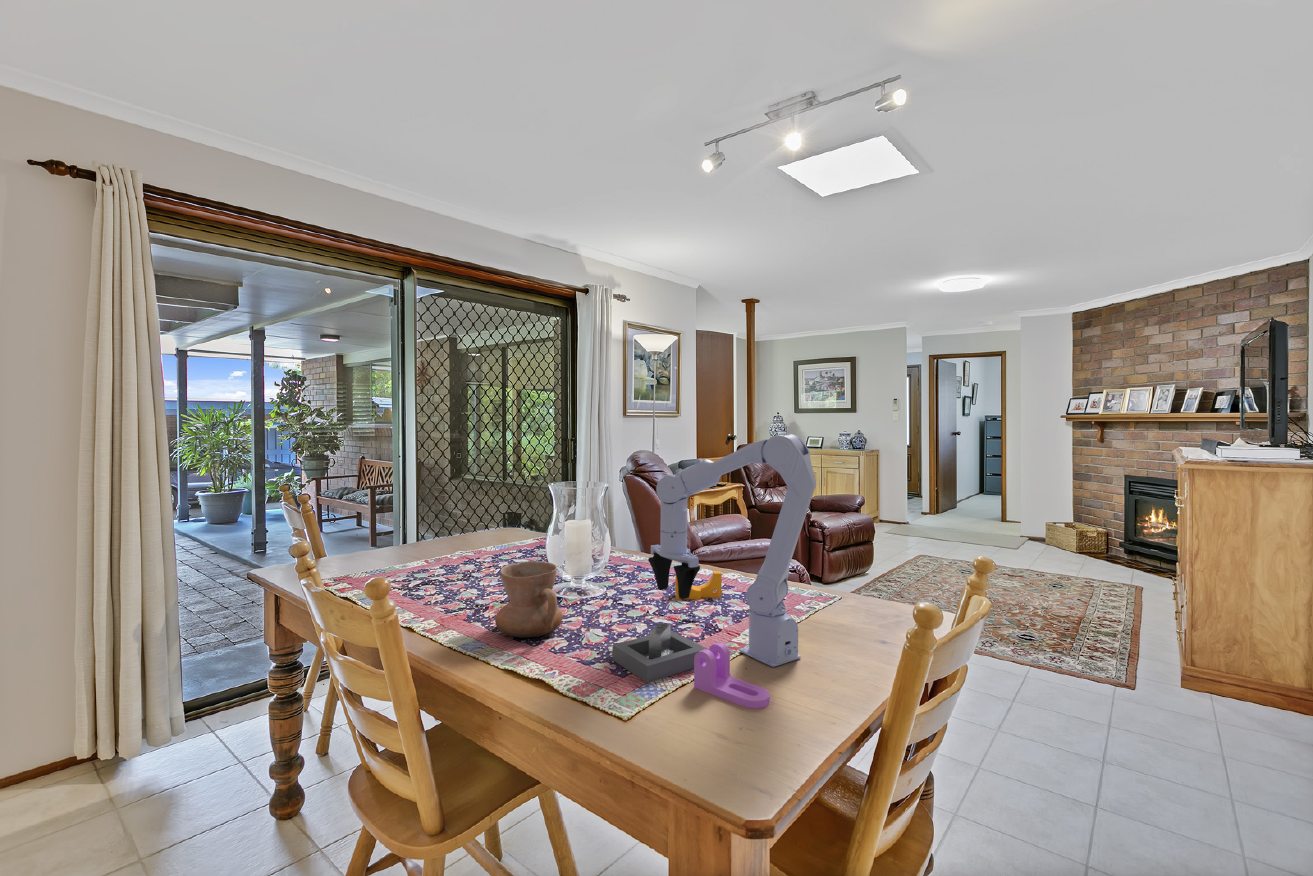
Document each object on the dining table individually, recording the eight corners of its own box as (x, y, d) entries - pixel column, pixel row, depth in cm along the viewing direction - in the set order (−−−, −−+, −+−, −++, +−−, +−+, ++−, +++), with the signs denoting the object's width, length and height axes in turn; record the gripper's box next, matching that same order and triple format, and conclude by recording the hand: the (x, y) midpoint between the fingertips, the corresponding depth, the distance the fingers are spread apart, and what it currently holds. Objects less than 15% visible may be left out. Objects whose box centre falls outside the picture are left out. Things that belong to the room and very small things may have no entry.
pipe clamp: (676, 599, 154) (676, 575, 154) (675, 594, 158) (675, 570, 158) (722, 600, 154) (722, 575, 154) (720, 594, 158) (720, 571, 158)
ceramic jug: (481, 628, 132) (480, 565, 131) (538, 613, 142) (538, 554, 141) (521, 654, 119) (521, 584, 118) (581, 636, 128) (581, 571, 127)
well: (707, 664, 114) (707, 648, 113) (647, 682, 106) (647, 666, 105) (670, 644, 123) (670, 630, 123) (612, 659, 115) (612, 644, 115)
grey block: (674, 654, 117) (674, 624, 117) (664, 666, 111) (664, 635, 111) (655, 652, 118) (655, 622, 118) (644, 663, 112) (644, 632, 112)
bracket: (694, 688, 104) (694, 649, 104) (712, 677, 108) (712, 640, 108) (758, 712, 95) (758, 670, 95) (775, 700, 100) (776, 659, 99)
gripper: (710, 534, 123) (709, 599, 124) (668, 523, 135) (668, 582, 135) (683, 538, 119) (682, 605, 120) (643, 526, 131) (642, 587, 131)
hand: (673, 593), depth 127 cm, fingers open, 7 cm apart
